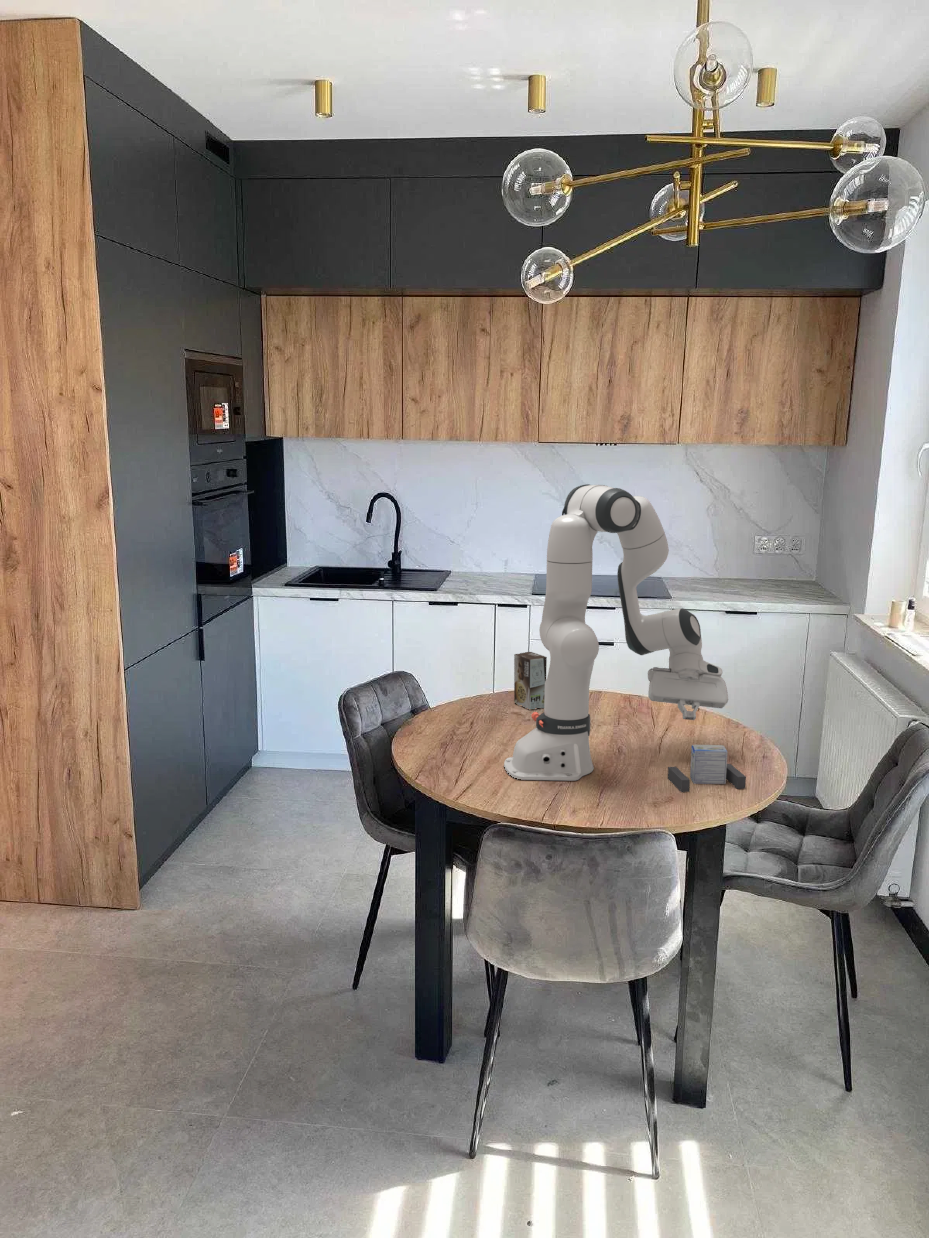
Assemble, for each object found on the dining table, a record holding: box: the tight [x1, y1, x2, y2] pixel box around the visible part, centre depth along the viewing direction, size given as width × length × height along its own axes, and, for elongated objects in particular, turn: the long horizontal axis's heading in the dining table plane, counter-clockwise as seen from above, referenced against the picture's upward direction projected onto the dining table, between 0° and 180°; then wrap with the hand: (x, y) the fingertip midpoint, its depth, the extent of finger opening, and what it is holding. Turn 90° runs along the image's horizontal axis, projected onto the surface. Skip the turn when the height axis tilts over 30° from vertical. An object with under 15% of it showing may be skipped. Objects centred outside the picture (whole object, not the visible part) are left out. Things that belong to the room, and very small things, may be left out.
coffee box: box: [513, 651, 548, 710], centre depth 290 cm, size 9×6×16 cm
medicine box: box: [689, 744, 729, 785], centre depth 228 cm, size 8×4×9 cm, turn 87°
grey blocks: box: [667, 763, 747, 793], centre depth 227 cm, size 16×9×3 cm, turn 98°
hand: (689, 718), depth 238 cm, fingers closed
